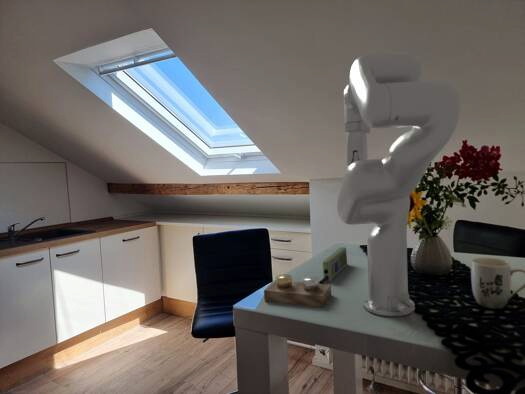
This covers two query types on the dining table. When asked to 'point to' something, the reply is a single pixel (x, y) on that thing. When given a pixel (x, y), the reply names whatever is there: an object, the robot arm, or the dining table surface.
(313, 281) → the steel knob
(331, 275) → the handheld radio
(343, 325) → the dining table surface
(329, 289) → the panel
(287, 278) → the brass knob
